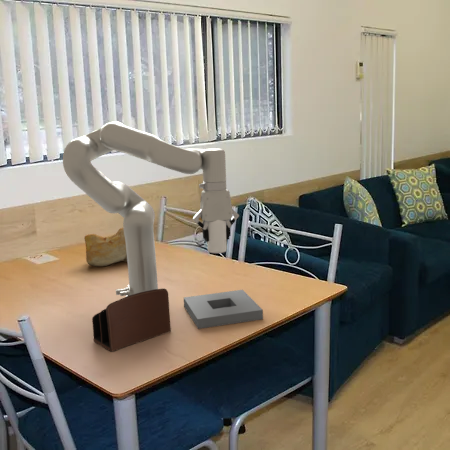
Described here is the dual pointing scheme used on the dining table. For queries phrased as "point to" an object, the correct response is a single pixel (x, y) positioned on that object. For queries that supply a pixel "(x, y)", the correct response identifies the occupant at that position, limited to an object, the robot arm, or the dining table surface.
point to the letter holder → (132, 320)
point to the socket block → (222, 308)
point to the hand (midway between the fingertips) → (216, 239)
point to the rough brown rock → (105, 249)
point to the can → (217, 237)
